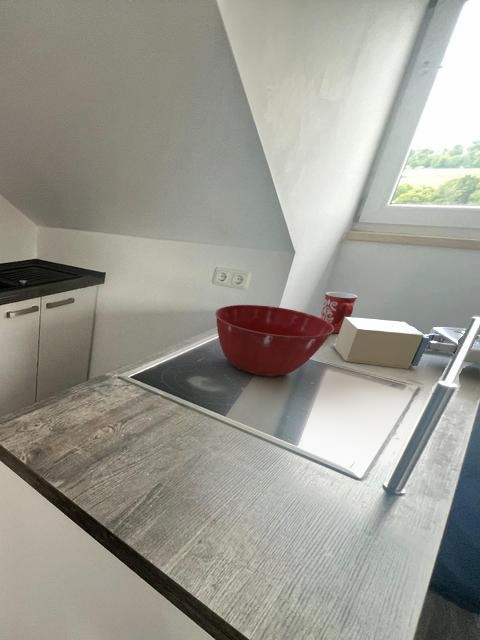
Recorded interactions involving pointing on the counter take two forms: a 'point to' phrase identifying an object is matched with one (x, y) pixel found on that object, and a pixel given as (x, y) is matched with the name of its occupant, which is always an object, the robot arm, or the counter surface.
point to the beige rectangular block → (378, 342)
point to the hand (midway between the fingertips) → (423, 340)
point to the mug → (337, 308)
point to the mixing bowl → (269, 338)
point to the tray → (421, 349)
